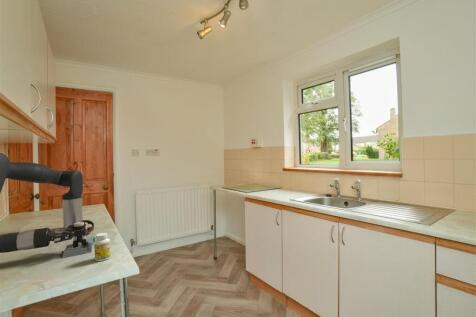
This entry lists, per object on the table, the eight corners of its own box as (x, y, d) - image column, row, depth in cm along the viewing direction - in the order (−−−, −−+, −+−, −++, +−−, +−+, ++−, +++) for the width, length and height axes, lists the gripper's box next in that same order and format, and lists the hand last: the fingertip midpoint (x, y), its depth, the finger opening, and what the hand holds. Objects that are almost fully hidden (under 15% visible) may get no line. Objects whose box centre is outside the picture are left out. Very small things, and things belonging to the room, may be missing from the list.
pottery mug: (88, 230, 134) (94, 218, 133) (91, 242, 128) (97, 229, 126) (63, 230, 126) (68, 217, 124) (65, 242, 119) (71, 229, 118)
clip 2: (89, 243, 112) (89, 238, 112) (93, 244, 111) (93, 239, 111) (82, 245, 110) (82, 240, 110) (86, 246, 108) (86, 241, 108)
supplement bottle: (113, 257, 96) (112, 233, 95) (100, 262, 91) (99, 237, 91) (105, 254, 98) (104, 231, 98) (91, 260, 94) (90, 235, 93)
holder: (65, 250, 104) (64, 241, 104) (92, 245, 109) (91, 236, 109) (62, 257, 97) (62, 247, 97) (91, 252, 102) (91, 242, 102)
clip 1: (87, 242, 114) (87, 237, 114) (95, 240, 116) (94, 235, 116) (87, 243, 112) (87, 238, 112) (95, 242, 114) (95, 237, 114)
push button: (68, 250, 99) (67, 226, 99) (67, 246, 103) (67, 223, 103) (87, 246, 103) (86, 223, 103) (86, 242, 107) (85, 220, 107)
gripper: (29, 234, 90) (84, 226, 98) (37, 225, 102) (85, 219, 110) (30, 254, 90) (84, 244, 98) (38, 242, 102) (86, 235, 111)
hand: (85, 231), depth 104 cm, fingers closed on push button, 3 cm apart
